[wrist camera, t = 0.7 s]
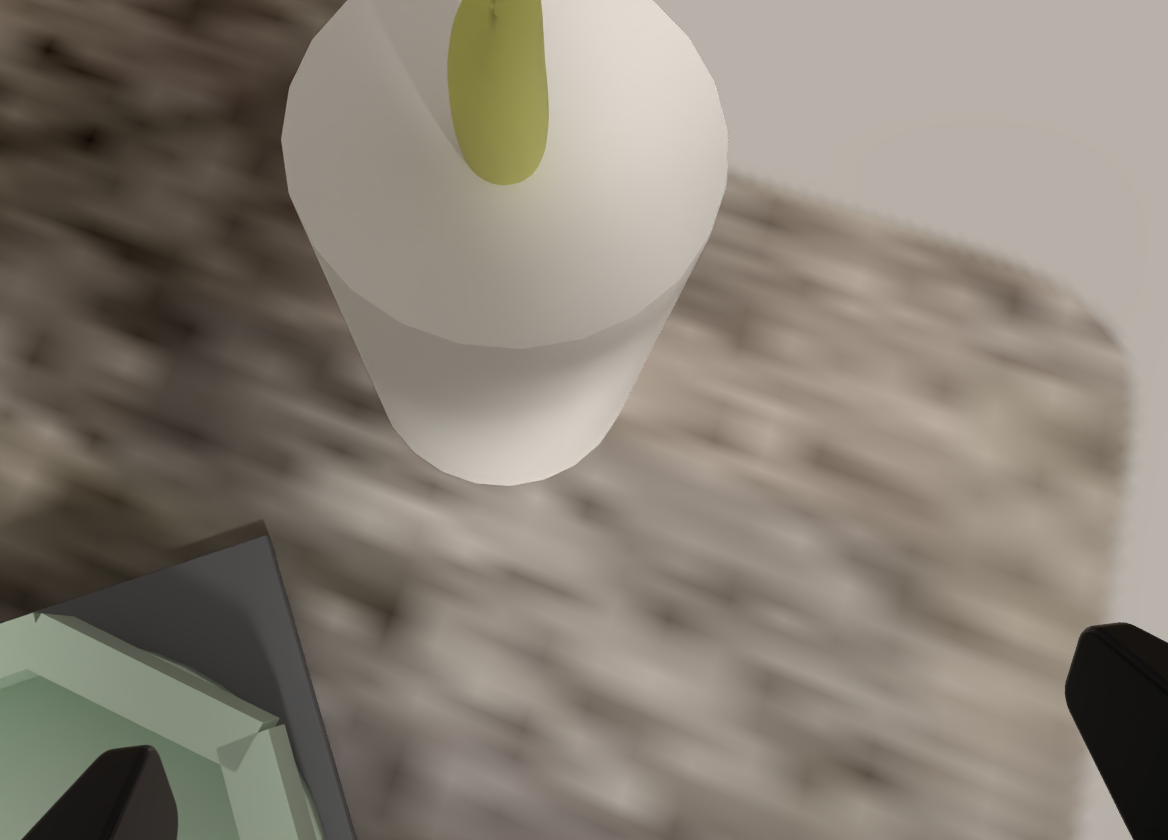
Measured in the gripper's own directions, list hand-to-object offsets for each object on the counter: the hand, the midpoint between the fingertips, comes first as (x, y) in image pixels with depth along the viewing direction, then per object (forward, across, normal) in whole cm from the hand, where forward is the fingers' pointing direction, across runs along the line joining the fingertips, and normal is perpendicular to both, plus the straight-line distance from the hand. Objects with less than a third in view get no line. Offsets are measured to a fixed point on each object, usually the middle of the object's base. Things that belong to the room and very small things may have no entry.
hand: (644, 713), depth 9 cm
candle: (+15, 0, +3) cm, 16 cm away
